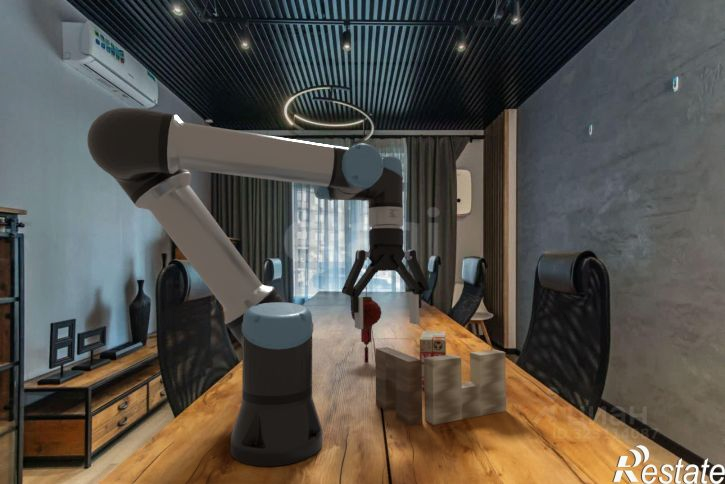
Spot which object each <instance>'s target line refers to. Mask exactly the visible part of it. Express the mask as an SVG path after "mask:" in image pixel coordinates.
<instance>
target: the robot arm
mask: <svg viewBox="0 0 725 484" xmlns="http://www.w3.org/2000/svg"><path fill="white" fill-rule="evenodd" d="M87 147H88V150H89V154H90V156H91V158H92V160H93V161H94V162H95V163H96V164H97V166H98V167H100V168H101V170H103V171H104V172H105V173H106V174H108V175H110V176H111V177H113V178H114V179H115V181H116V183H118V185H119V186H120V187H121V188H122V190H123V191H124V192H125V193H126V195H127V196H128V197H129V199H130V201H132V202H133V204H134V206H135V207H136V208H139V209H142V210H143V209H144V210H148V211H150V212H151V214H152V215H153V216H154V218H155V219H156V220H157V222H158V223H159V225H160V226H161V227H162V229H163V230H164V231H165V232H166V234H167V235H168V236H169V237H170V239H171V240H172V242H173V243H174V244H175V246H176V247H177V248H178V249H179V251H180V252H181V253H182V255H183V256H184V257H185V259H186V260H187V262H188V263H189V264H190V265H191V266H192V268H193V269H194V271H195V272H196V273H197V275H198V276H199V278H201V279H202V281H203V283H204V284H205V285H206V287H208V289H209V290H210V292H211V293H212V294H213V295H214V297H215V299H216V300H217V301H218V303H219V304H220V305H221V306H222V308H223V309H224V310H225V316H224V317H225V318H224V324H225V325H226V326H227V328H228V329H229V330H230V332H231V333H232V335H233V336H234V337H235V339H236V340H237V342H239V344H240V345H241V347H242V373H241V374H242V380H241V381H242V385H241V387H242V388H241V389H242V390H241V391H242V393H241V394H242V396H241V397H242V398H241V399H242V401H241V404H240V408H239V410H238V411H239V412H238V414H237V417H236V420H235V424H234V425H233V426H234V427H233V430H232V432H231V436H230V454H231V455H232V457H233V458H234V459H235V460H237V461H238V462H240V463H243V464H247V465H250V466H258V467H277V466H284V465H285V466H286V465H290V464H294V463H298V462H301V461H304V460H307V459H308V458H311V457H313V456H314V455H315V454H316V453H318V452H319V451H320V450H321V449H322V446H323V427H322V423H321V421H320V418H319V415H318V412H317V408H316V405H315V401H314V398H313V333H314V323H313V316H312V313H311V310H310V309H309V308H308V307H307V306H305V305H303V304H296V303H294V302H293V303H292V302H285V301H284V299H283V297H282V296H281V295H280V294H279V292H278V291H277V290H276V288H275V286H271V285H264V284H262V282H261V281H260V279H259V278H258V276H257V275H256V274H255V273H254V271H253V269H252V268H251V267H250V266H249V264H248V263H247V261H246V260H245V258H244V257H242V255H241V253H240V252H239V251H238V250H237V248H236V247H235V245H234V244H233V242H232V240H230V239H229V237H228V236H227V234H226V233H225V232H224V230H223V229H222V228H221V226H220V225H219V223H218V222H217V221H216V219H215V218H214V216H213V215H212V214H211V213H210V210H208V209H207V207H206V206H205V204H204V203H203V202H202V200H201V199H200V198H199V196H198V195H197V194H196V192H195V190H193V188H192V187H191V181H192V173H191V172H190V171H199V172H206V173H215V174H223V175H229V176H230V175H231V176H239V177H247V178H253V179H255V178H256V179H262V180H263V179H264V180H271V181H277V182H278V181H279V182H287V183H294V184H295V183H296V184H304V185H312V186H313V193H314V195H315V197H316V198H317V199H318V200H319V199H320V200H328V201H361V202H362V201H363V202H364V201H365V202H367V201H368V226H369V227H370V230H368V245H369V250H368V251H367V250H365V249H359V250H356V251H355V254H354V255H355V258H354V261H353V264H352V266H351V269H350V271H349V273H348V275H347V278H346V279H345V282H344V285H343V286H342V289H341V293H342V294H344V295H346V296H349V297H350V311H351V312H353V313H355V321H354V328H355V329H357V330H361V329H363V297H364V296H360V295H362V293H363V291H364V290H365V289H366V286H368V284H369V283H370V282H371V280H372V278H374V276H375V275H376V274H377V273H378V272H379V271H380V272H382V271H383V272H384V271H395V272H396V273H397V274H398V275H399V276H400V278H401V279H402V281H403V282H404V284H406V286H407V287H408V288H409V289H410V291H411V292H412V293H409V295H408V296H409V298H408V299H409V300H408V301H409V304H408V305H409V324H413V325H420V309H421V308H422V304H423V303H422V295H424V294H425V292H427V291H429V290H430V286H429V284H428V282H427V280H426V278H425V275H424V272H423V271H422V269H421V266H420V264H419V262H418V258H417V251H416V249H415V250H414V249H408V250H404V230H403V228H401V227H403V226H404V217H403V216H404V210H403V209H404V208H403V206H404V205H403V202H404V201H403V199H404V198H403V197H404V196H403V193H404V192H403V191H404V190H403V188H404V187H403V186H404V185H403V181H404V176H403V175H404V174H403V167H402V161H401V160H400V159H399V158H398V157H396V156H394V155H381V153H380V152H379V150H378V149H377V148H375V146H372V145H370V144H367V143H358V144H355V145H353V146H350V147H345V146H338V145H330V144H325V143H324V144H323V143H316V142H311V141H304V140H298V139H292V138H285V137H280V136H273V135H267V134H266V135H265V134H260V133H253V132H247V131H242V130H235V129H228V128H222V127H216V126H209V125H203V124H197V123H190V122H184V121H183V120H182V119H181V118H180V117H179V116H178V114H174V113H169V112H161V111H155V110H148V109H142V108H136V107H135V108H134V107H119V108H118V107H117V108H114V109H111V110H106V111H104V112H103V113H102V114H100V115H99V116H97V118H95V120H93V122H92V123H91V126H90V127H89V129H88V133H87ZM368 259H369V260H370V263H369V265H368V266H367V270H366V269H365V272H364V273H363V274H362V275H361V276H360V274H361V271H362V269H363V267H364V265H365V261H367V260H368ZM403 259H404V260H406V262H407V265H408V266H409V270H410V272H411V273H410V272H409V271H408V269H407V267H406V265H405V264H404V263H403ZM411 274H412V275H411ZM359 276H360V278H359ZM351 312H350V313H351Z"/></svg>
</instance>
